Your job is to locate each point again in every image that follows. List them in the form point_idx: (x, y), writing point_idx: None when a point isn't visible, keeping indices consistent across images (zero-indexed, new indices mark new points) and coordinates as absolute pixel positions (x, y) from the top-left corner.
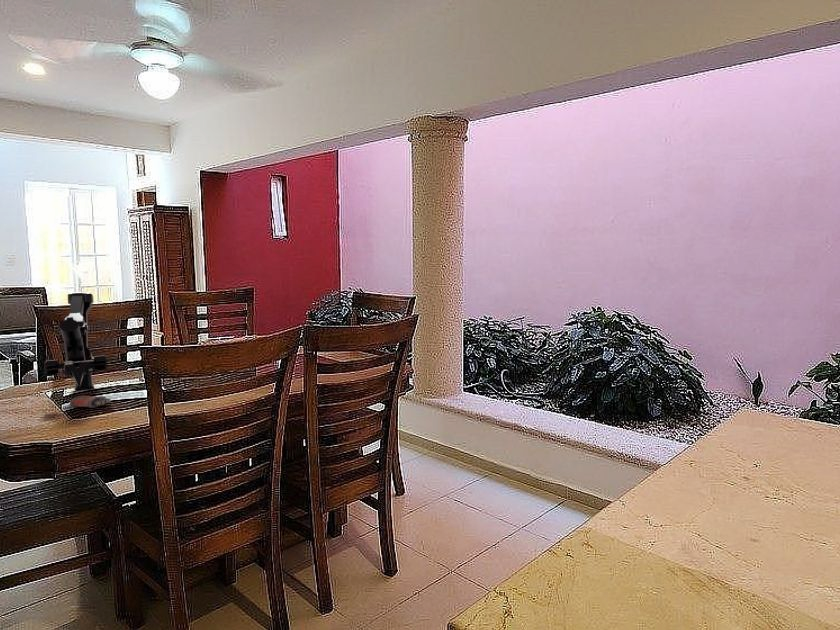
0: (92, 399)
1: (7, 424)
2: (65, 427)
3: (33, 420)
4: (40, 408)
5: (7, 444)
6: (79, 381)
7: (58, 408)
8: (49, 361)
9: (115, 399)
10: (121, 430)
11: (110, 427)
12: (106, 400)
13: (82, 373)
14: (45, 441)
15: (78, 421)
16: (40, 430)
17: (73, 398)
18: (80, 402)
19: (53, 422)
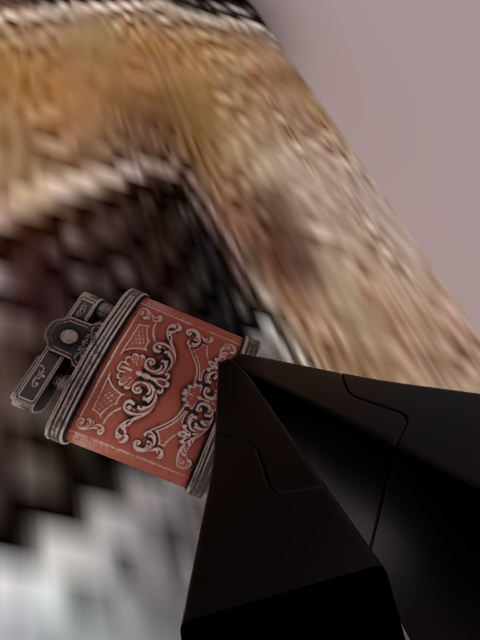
0: (115, 306)
1: (380, 190)
2: (171, 93)
3: (322, 208)
4: None
5: (269, 29)
6: (231, 366)
7: None
8: None
9: (6, 579)
10: None
11: (6, 36)
12: (35, 360)
13: (216, 435)
14: (184, 10)
15: (145, 139)
16: (240, 95)
17: None
18: (193, 317)
19: (236, 160)
